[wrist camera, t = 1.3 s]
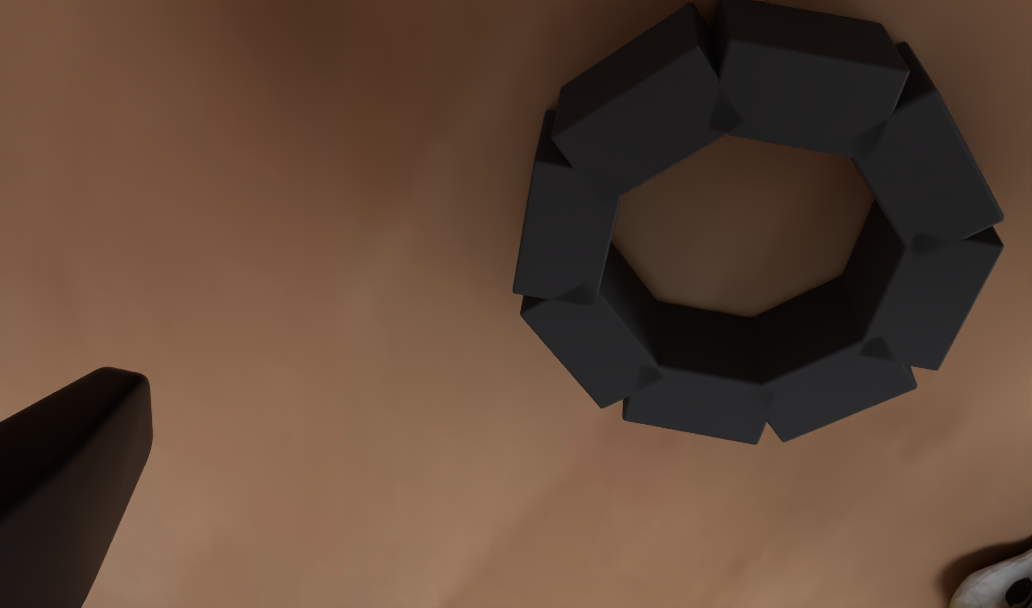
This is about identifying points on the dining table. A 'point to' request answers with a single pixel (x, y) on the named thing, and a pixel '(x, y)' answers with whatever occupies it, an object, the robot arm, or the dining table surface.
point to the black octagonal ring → (776, 119)
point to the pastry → (998, 585)
